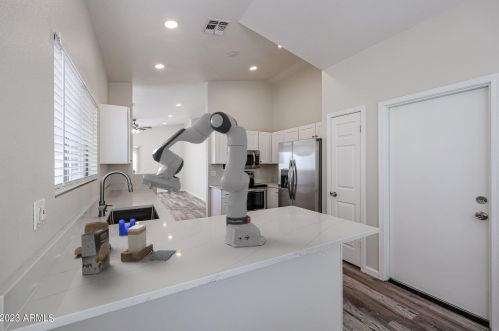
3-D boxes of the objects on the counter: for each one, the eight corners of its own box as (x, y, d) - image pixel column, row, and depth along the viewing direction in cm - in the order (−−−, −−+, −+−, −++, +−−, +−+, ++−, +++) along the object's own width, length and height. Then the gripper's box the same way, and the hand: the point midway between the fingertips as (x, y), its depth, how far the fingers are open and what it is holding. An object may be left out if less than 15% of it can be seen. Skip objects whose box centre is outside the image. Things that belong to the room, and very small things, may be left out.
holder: (153, 250, 115) (152, 243, 115) (140, 261, 103) (139, 253, 103) (135, 250, 116) (135, 243, 116) (121, 260, 104) (120, 253, 104)
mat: (175, 251, 114) (175, 250, 114) (166, 260, 103) (166, 259, 103) (158, 251, 114) (158, 250, 114) (147, 260, 103) (147, 259, 103)
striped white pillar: (146, 252, 113) (145, 224, 112) (138, 258, 106) (138, 228, 105) (136, 252, 113) (136, 224, 113) (128, 258, 106) (127, 228, 106)
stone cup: (110, 244, 126) (109, 217, 126) (111, 250, 116) (110, 221, 116) (76, 250, 118) (75, 221, 118) (74, 258, 108) (73, 227, 108)
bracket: (133, 234, 144) (133, 220, 144) (119, 235, 141) (118, 221, 141) (138, 226, 161) (137, 214, 161) (124, 228, 158) (124, 215, 158)
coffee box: (98, 273, 92) (97, 234, 91) (81, 275, 91) (80, 235, 91) (110, 263, 101) (109, 227, 101) (95, 264, 100) (94, 228, 100)
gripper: (146, 168, 127) (140, 179, 114) (182, 178, 133) (180, 190, 121) (143, 178, 128) (137, 190, 116) (179, 188, 135) (177, 199, 123)
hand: (159, 190), depth 119 cm, fingers open, 8 cm apart
